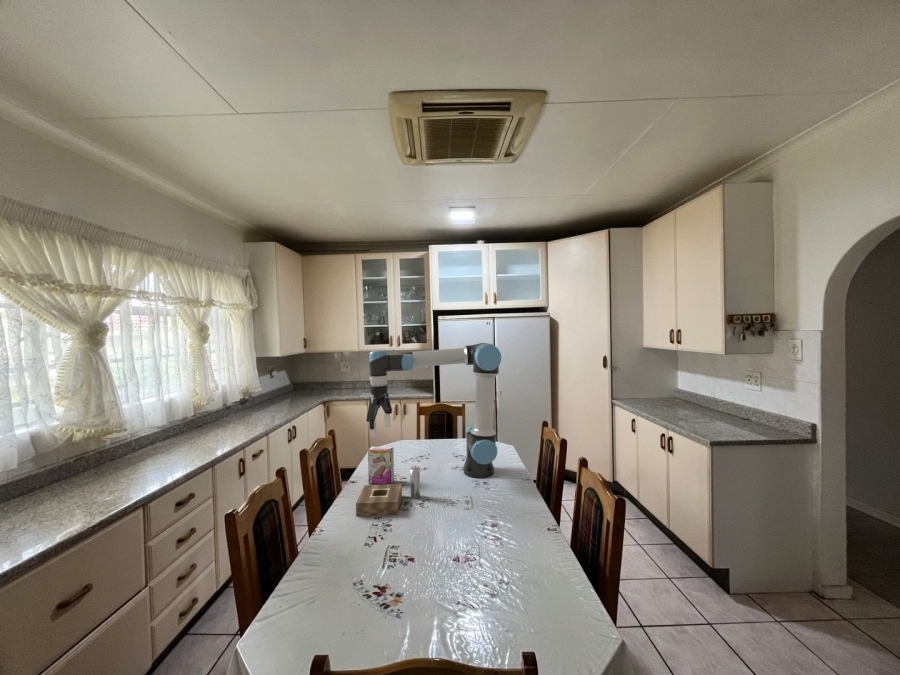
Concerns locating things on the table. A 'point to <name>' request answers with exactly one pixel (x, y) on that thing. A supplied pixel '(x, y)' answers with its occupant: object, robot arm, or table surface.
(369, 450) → the candy bar box
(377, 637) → the table surface
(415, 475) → the pin
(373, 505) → the block
